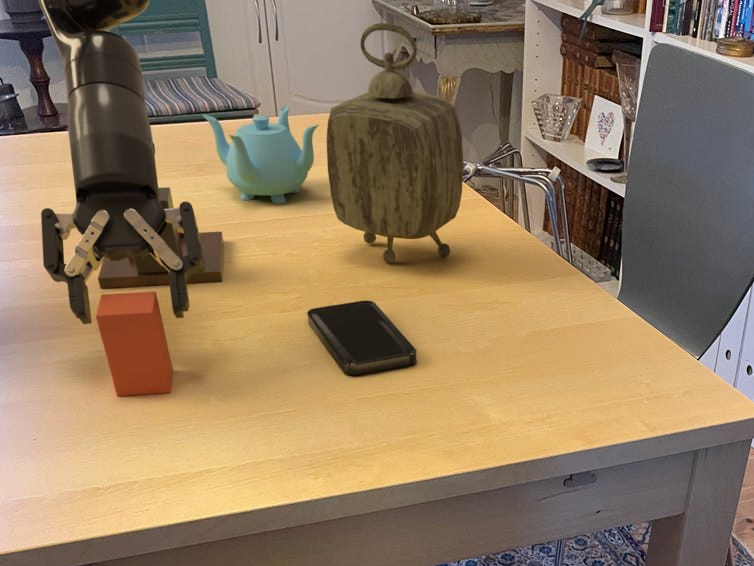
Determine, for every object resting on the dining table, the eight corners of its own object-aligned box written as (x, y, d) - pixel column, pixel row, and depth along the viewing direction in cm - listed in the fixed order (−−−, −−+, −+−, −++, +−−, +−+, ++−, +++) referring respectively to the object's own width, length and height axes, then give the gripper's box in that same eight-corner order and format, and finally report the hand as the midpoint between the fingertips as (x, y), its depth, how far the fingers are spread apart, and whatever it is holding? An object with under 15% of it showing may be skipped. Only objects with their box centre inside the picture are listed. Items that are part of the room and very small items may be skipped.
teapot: (240, 214, 130) (228, 133, 123) (212, 187, 139) (199, 110, 132) (327, 200, 135) (320, 122, 128) (295, 175, 143) (287, 101, 136)
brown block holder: (100, 288, 110) (78, 206, 104) (111, 246, 120) (92, 169, 114) (222, 281, 112) (208, 200, 106) (223, 240, 122) (210, 164, 116)
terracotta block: (117, 396, 90) (95, 315, 85) (121, 373, 94) (101, 294, 88) (170, 392, 91) (152, 312, 86) (173, 369, 95) (155, 291, 89)
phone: (346, 366, 93) (304, 309, 103) (347, 377, 94) (305, 319, 104) (420, 353, 95) (372, 298, 105) (420, 363, 96) (373, 308, 106)
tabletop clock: (463, 255, 119) (463, 23, 102) (432, 280, 113) (426, 37, 96) (364, 237, 123) (348, 12, 107) (328, 260, 117) (306, 24, 101)
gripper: (20, 131, 84) (40, 307, 84) (183, 125, 87) (203, 296, 86) (46, 177, 92) (65, 338, 91) (195, 170, 94) (214, 328, 93)
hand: (132, 318), depth 89 cm, fingers open, 8 cm apart
